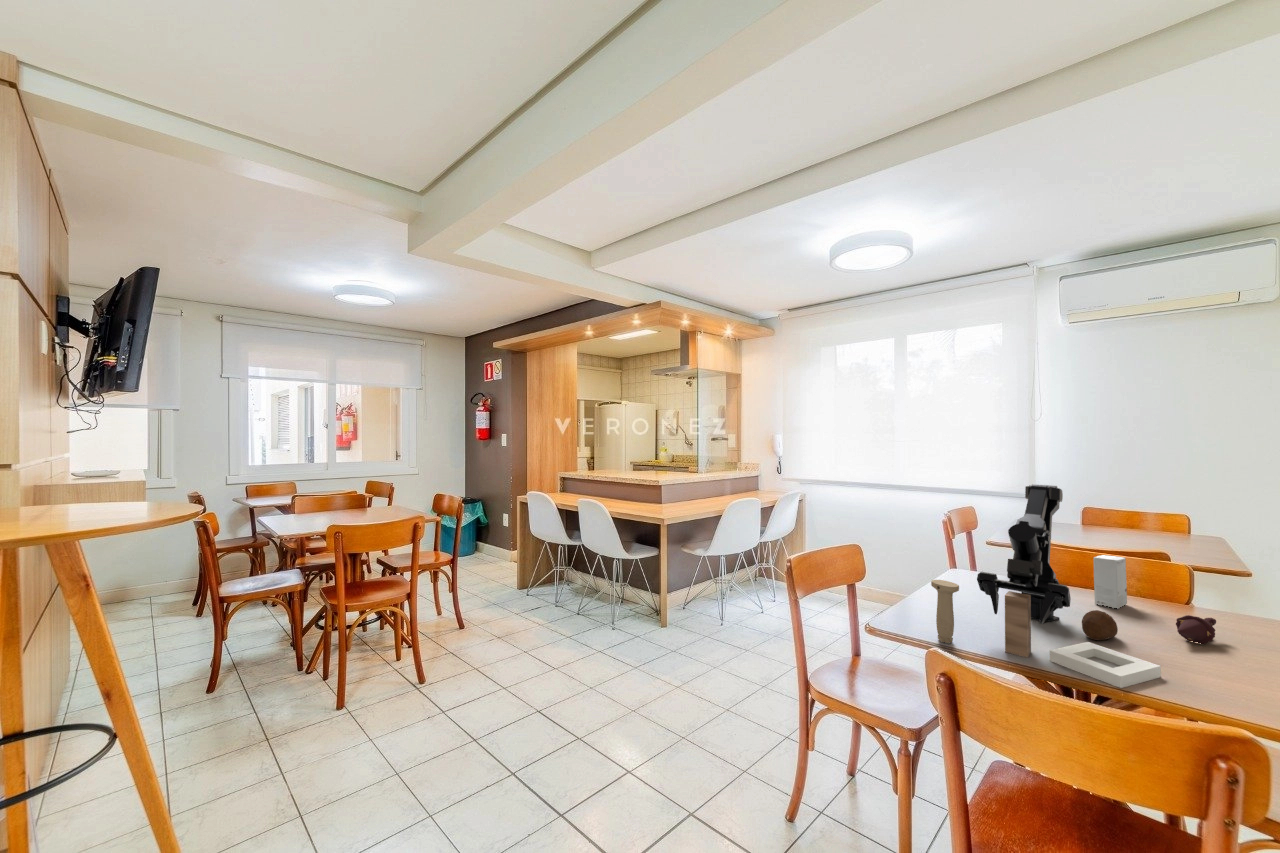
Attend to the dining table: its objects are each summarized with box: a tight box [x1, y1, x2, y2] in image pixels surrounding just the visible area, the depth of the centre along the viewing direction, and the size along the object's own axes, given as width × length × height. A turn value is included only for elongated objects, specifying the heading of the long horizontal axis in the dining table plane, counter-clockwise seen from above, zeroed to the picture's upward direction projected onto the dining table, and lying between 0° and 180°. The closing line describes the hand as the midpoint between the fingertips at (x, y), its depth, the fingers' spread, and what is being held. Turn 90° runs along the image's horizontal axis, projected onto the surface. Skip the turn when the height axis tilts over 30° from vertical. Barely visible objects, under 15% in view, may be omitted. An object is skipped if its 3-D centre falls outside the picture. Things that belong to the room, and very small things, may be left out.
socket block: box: [1049, 641, 1162, 689], centre depth 120 cm, size 14×14×2 cm
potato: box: [1081, 609, 1119, 641], centre depth 138 cm, size 7×10×7 cm
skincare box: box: [1093, 554, 1128, 610], centre depth 164 cm, size 8×6×15 cm
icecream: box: [1175, 614, 1217, 645], centre depth 135 cm, size 7×7×15 cm
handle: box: [930, 579, 960, 644], centre depth 136 cm, size 5×6×15 cm
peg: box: [1004, 590, 1032, 659], centre depth 129 cm, size 4×4×14 cm
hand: (1017, 618), depth 129 cm, fingers open, 9 cm apart
